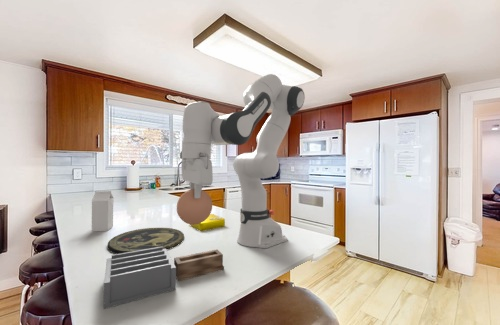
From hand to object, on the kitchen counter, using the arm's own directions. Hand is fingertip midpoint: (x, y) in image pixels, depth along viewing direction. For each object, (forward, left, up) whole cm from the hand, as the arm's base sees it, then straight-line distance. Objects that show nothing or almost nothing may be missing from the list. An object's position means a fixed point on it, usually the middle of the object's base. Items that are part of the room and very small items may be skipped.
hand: (195, 197), depth 71 cm
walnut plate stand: (-2, 0, -24) cm, 24 cm away
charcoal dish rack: (+15, 0, -24) cm, 28 cm away
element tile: (-21, -47, -24) cm, 57 cm away
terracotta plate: (0, 0, -3) cm, 3 cm away
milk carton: (+27, -64, -24) cm, 74 cm away
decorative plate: (+9, -36, -24) cm, 45 cm away
